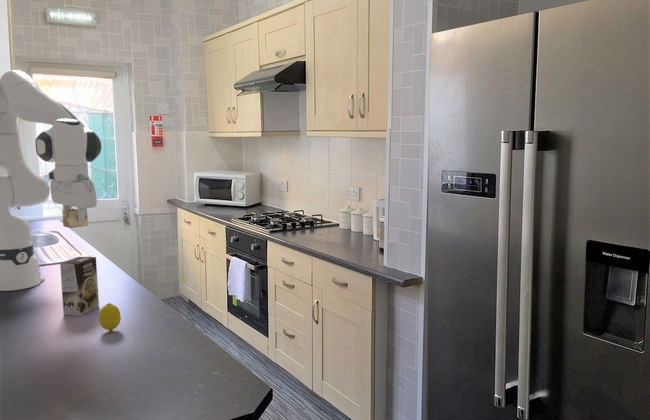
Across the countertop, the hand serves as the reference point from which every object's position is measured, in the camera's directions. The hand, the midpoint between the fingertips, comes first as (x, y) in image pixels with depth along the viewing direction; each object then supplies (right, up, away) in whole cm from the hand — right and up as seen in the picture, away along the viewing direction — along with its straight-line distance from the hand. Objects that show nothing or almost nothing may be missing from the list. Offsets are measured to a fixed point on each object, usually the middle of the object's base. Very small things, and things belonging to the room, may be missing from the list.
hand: (75, 220), depth 164 cm
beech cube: (0, -2, 0) cm, 2 cm away
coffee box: (0, -28, +4) cm, 28 cm away
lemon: (+16, -30, -13) cm, 37 cm away
